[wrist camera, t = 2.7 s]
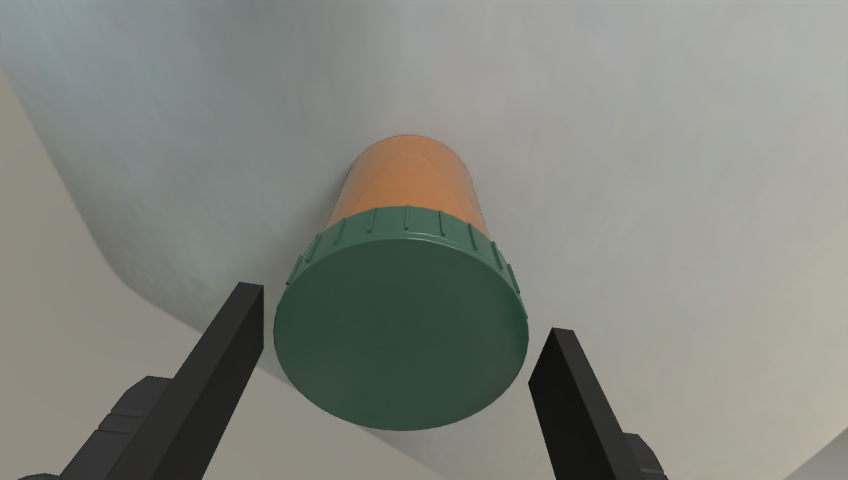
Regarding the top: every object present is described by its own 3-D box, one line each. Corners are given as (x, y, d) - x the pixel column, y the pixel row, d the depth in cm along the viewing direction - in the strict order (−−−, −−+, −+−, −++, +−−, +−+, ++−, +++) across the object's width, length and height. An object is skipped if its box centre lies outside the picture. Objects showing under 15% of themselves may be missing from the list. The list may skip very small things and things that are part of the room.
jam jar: (339, 243, 26) (284, 402, 15) (351, 123, 22) (291, 221, 12) (457, 262, 26) (483, 425, 16) (487, 148, 23) (546, 262, 12)
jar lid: (287, 371, 17) (270, 418, 15) (294, 183, 13) (272, 214, 11) (483, 395, 18) (492, 443, 16) (546, 225, 14) (568, 261, 12)
